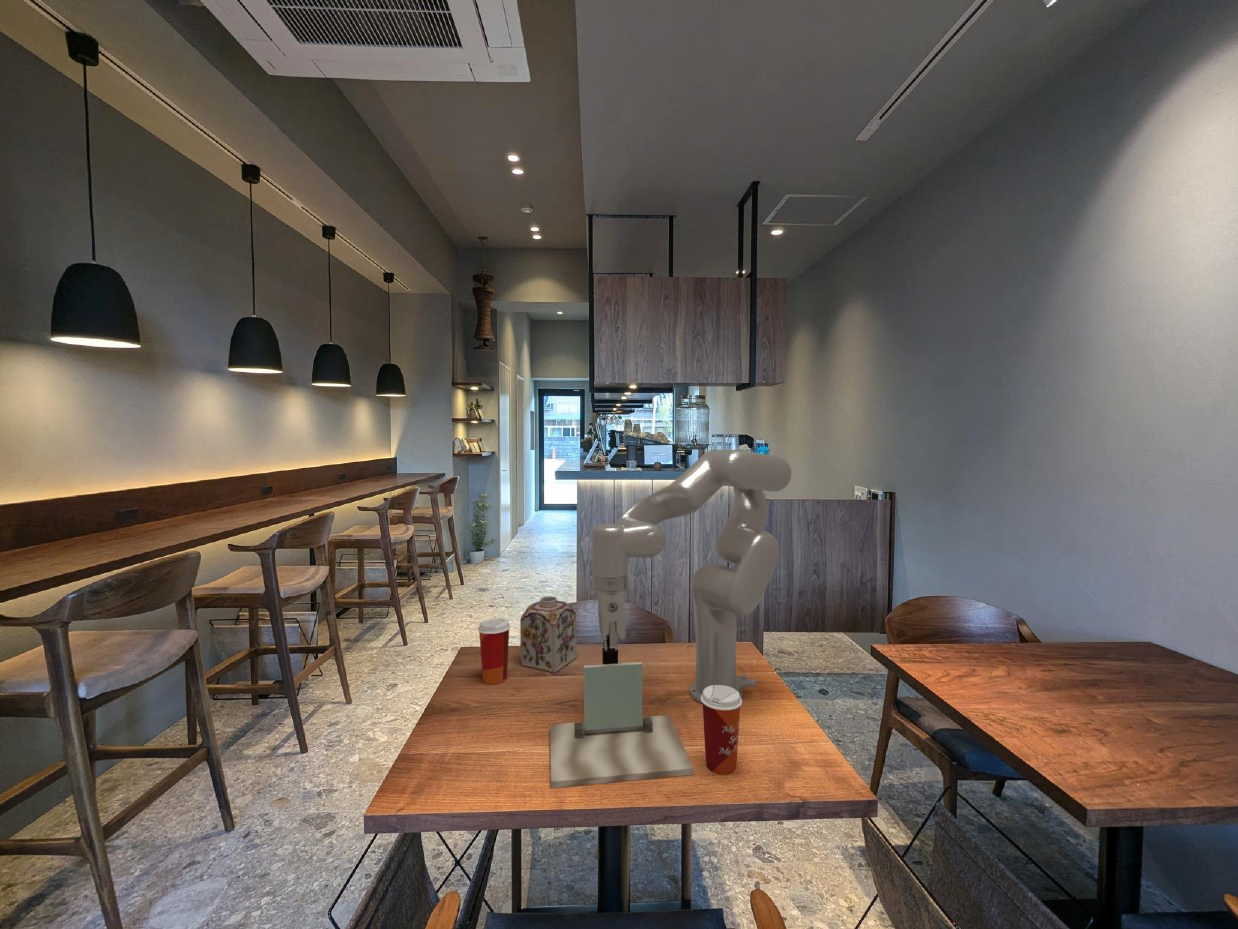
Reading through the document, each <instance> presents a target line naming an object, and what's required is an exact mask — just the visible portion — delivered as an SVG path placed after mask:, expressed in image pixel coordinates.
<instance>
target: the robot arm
mask: <svg viewBox="0 0 1238 929" xmlns="http://www.w3.org/2000/svg"><path fill="white" fill-rule="evenodd" d="M791 479H792V469H791V465H790V464H789V462H788V461H787V460H786V459H784V458H783V457H781V456H779V455H773V454H765V453H759V452H753V451H748V450H740V449H712V450H708V451H706V452H705V453H703V454H702V456H700V457H699V458H698V459H697V460H696V461H694V463H692V464H691V466H689V467H688V468H687V469H686V470H685V471H684V472H683V473H682V474H680V475H679V476H678V477H677V478H676V479H674V481H672V482H671V483H670V484H669V485H667V486H664V487H663V488H661V489H658V490H657V491H654V492H653V493H651V494H650V495H648V496H646V497H644V498H642V499H640V500H639V501H637V502H636V503H635V504H633V505H632V506H631V507H629V509H627V511H626V512H624V513H623V514H622V515H621V516H620V517H619V518H618V519H617V520H616V521H615V523H600V524H598V525H595V526H594V527H593V529H592V540H591V541H592V542H591V543H592V544H591V545H592V550H591V551H592V556H591V557H592V558H591V559H592V560H591V561H592V577H591V578H592V591H593V592H595V593H597V612H598V613H597V614H598V626H599V631H600V635H601V639H602V646H603V647H602V648H601V649H602V652H601V653H602V658H601V659H602V661H601V662H602V664H601V665H604V664H619V649H618V647H619V645H618V644H619V642H618V640H619V639H620V640H622V641H624V640H625V639H626V610H625V596H624V593H625V592H627V591H628V588H629V587H628V585H629V583H628V582H629V581H628V574H629V573H628V572H629V571H628V563H629V559H630V558H641V559H647V558H649V559H650V558H653V557H656V556H657V555H659V554H661V553H662V551H663V550H664V549H665V547H666V542H667V541H666V535H665V533H664V531H663V529H662V528H660V527H659V526H658V524H661V523H662V522H665V521H667V520H669V519H670V520H671V519H675V518H679V517H680V518H681V517H685V516H688V515H690V514H693V513H695V512H697V511H699V509H701V508H702V506H704V505H705V504H706V503H707V502H708V501H709V499H711V498H712V497H713V495H715V494H716V493H717V492H718V491H719V490H720V489H721V488H723V487H724V486H725V487H732V488H733V492H734V504H733V507H732V509H731V512H730V513H729V516H728V518H727V520H726V522H725V524H724V526H723V528H722V530H721V533H720V535H719V536H718V539H717V542H716V545H715V552H716V554H717V556H718V557H719V559H721V560H722V561H724V562H725V563H728V564H731V565H734V566H737V568H736V569H734V568H732V567H729V566H724V565H721V564H719V563H718V564H717V563H706V564H703V565H701V566H700V567H698V569H696V571H695V572H694V574H693V577H692V580H691V583H692V584H691V585H692V587H691V588H692V596H693V599H694V608H695V624H696V626H695V629H696V630H695V649H696V650H695V681H693V682H692V683H691V684H690V685H689V694H690V697H692V698H693V699H694V700H696V701H697V702H699V703H702V701H701V695H702V694H703V691H704V689H705V688H706V687H708V686H712V685H724V686H729V687H732V688H734V689H735V690H737V691H738V692H739V694H740V697H741V699H742V700H743V689H744V688H746V687H747V688H753V687H756V685H757V684H756V679H755V677H748V678H747V676H746V674H742V675H741V674H740V675H737V621H736V620H737V619H736V615H738V616H748V615H749V614H751V613H752V612H753V611H755V610H756V608H757V607H758V605H759V604H760V602H761V600H762V599H763V596H764V593H765V591H766V590H767V587H768V586H769V582H770V581H771V578H772V576H773V574H774V572H775V570H776V567H777V564H778V561H779V557H780V546H779V543H778V539H776V537H775V536H774V535H773V534H772V533H770V532H768V531H766V530H763V528H764V525H765V523H766V521H767V517H768V512H769V511H768V508H769V507H768V502H767V500H766V496H765V494H764V492H780V491H782V490H784V489H785V488H786V487H787V486H788V485H789V484H790V482H791ZM618 638H619V639H618ZM702 704H703V703H702Z"/></svg>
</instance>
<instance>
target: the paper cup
mask: <svg viewBox="0 0 1238 929" xmlns="http://www.w3.org/2000/svg"><path fill="white" fill-rule="evenodd" d="M701 701H702V715H703V721H702V722H703V735H704V752H705V753H704V754H705V764H706V768H707V769H708V770H709V771H710V772H713V773H714V774H717V775H730V774H732V773H734V772H735V771H736V769H737V759H738V749H739V747H738V746H739V732H740V730H739V729H740V716H741V706H742V704H743V698H742V699H741V697H740V694H739V692H738V691H737V690H735V689H734V688H732V687H729V686H724V685H712V686H708V687H706V688H705V689H704V691H703V694H702V695H701Z"/></svg>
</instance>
